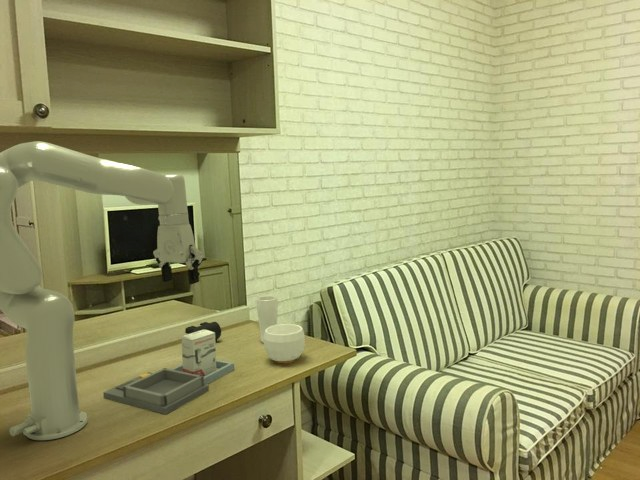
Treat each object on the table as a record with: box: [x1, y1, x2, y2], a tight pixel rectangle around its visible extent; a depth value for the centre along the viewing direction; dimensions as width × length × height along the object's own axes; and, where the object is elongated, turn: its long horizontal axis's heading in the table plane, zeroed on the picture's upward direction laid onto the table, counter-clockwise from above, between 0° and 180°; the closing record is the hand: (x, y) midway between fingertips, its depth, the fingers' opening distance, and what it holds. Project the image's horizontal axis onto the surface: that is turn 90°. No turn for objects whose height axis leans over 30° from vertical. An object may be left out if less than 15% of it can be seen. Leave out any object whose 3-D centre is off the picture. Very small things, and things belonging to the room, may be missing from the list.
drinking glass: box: [256, 295, 278, 344], centre depth 173 cm, size 7×7×15 cm
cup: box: [263, 323, 306, 364], centre depth 155 cm, size 12×12×10 cm
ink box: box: [181, 330, 217, 376], centre depth 145 cm, size 9×5×12 cm, turn 143°
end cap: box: [184, 321, 222, 342], centre depth 173 cm, size 10×7×7 cm
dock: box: [102, 367, 210, 415], centre depth 133 cm, size 15×22×4 cm
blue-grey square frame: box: [171, 359, 235, 385], centre depth 146 cm, size 14×14×2 cm
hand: (180, 282), depth 141 cm, fingers open, 9 cm apart
